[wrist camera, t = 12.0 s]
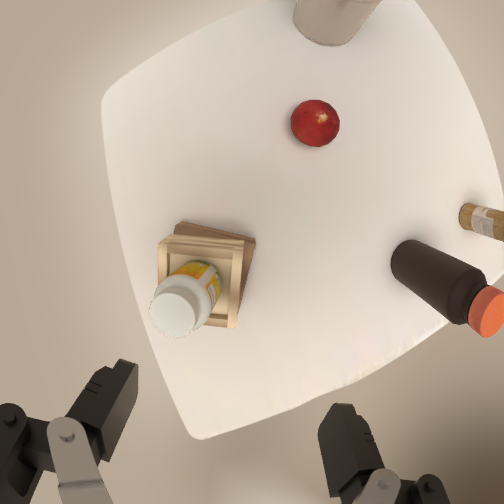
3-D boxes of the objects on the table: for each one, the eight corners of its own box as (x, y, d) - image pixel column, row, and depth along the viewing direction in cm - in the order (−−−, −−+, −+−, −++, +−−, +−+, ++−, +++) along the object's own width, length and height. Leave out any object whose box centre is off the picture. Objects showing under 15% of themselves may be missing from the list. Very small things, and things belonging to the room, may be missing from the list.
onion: (308, 99, 33) (322, 80, 25) (338, 130, 34) (360, 119, 26) (278, 126, 34) (285, 112, 26) (309, 158, 35) (324, 152, 27)
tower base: (182, 221, 38) (175, 225, 34) (255, 238, 38) (255, 244, 34) (171, 288, 40) (163, 299, 36) (238, 304, 41) (236, 317, 37)
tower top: (171, 233, 34) (158, 243, 29) (244, 240, 34) (243, 251, 29) (170, 301, 36) (158, 319, 31) (238, 308, 36) (236, 328, 31)
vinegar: (402, 231, 38) (497, 273, 18) (431, 250, 38) (521, 295, 19) (382, 272, 39) (463, 338, 20) (412, 287, 40) (491, 351, 20)
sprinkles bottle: (474, 202, 36) (530, 214, 23) (475, 228, 37) (529, 246, 24) (457, 204, 36) (515, 217, 23) (458, 231, 37) (513, 251, 24)
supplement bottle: (233, 283, 31) (218, 320, 21) (200, 314, 32) (176, 357, 22) (197, 248, 30) (167, 270, 21) (166, 280, 31) (130, 313, 22)
